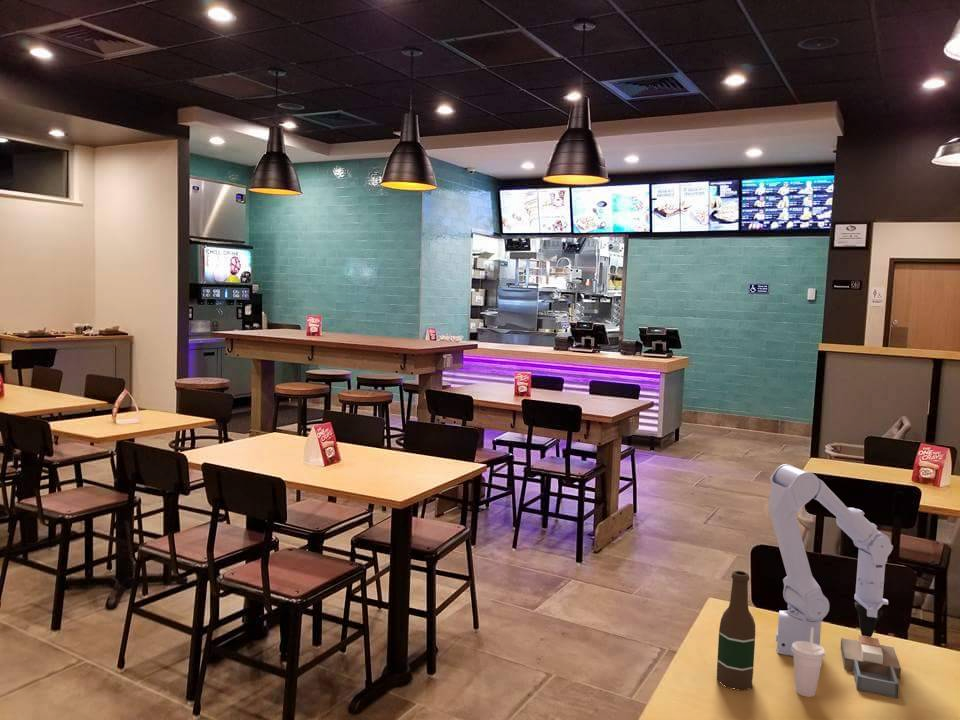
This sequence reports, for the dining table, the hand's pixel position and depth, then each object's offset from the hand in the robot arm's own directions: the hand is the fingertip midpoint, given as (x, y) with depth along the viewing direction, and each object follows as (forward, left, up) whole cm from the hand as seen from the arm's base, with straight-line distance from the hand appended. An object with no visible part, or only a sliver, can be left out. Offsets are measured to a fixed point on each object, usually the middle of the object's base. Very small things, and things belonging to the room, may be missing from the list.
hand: (866, 635), depth 173 cm
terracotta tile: (0, -6, -1) cm, 6 cm away
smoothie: (-14, -28, -4) cm, 32 cm away
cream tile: (0, -11, -1) cm, 11 cm away
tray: (0, -18, -3) cm, 18 cm away
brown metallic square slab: (0, -8, -3) cm, 8 cm away
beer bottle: (-28, -30, -4) cm, 41 cm away
